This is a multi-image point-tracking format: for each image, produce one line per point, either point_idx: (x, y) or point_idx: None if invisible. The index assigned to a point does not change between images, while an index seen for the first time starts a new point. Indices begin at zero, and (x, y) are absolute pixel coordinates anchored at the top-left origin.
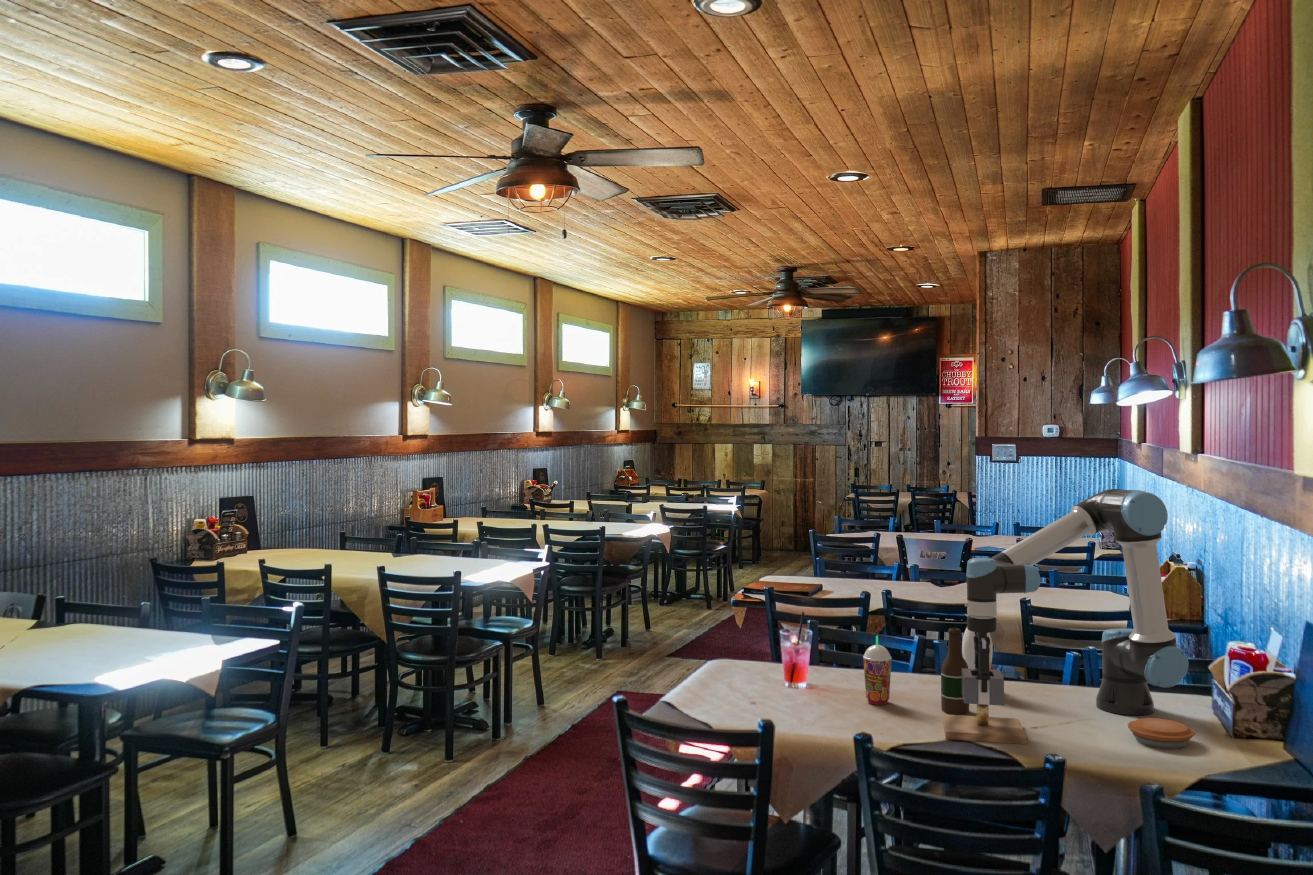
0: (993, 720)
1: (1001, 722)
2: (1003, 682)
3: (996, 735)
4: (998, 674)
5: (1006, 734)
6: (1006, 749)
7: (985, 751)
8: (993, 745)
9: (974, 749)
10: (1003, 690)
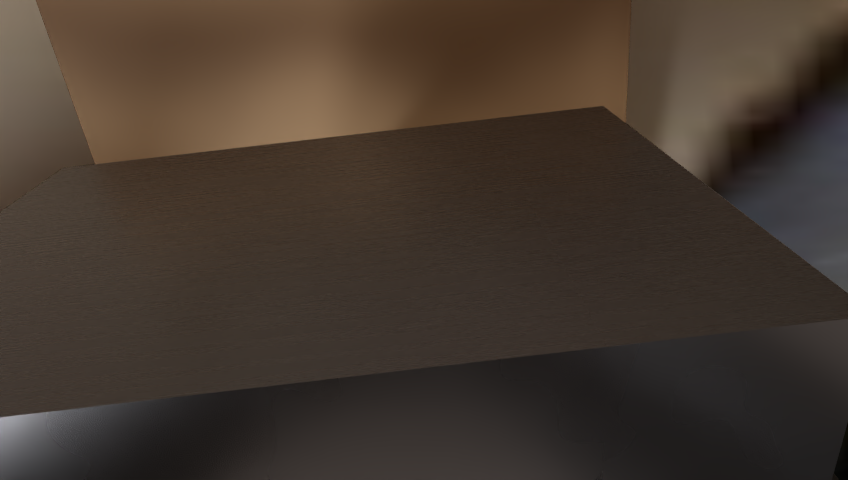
0: (202, 146)
1: (236, 75)
2: (802, 270)
3: (624, 110)
4: (314, 459)
5: (609, 27)
6: (779, 19)
7: (831, 167)
8: (689, 117)
9: (790, 234)
10: (701, 191)
